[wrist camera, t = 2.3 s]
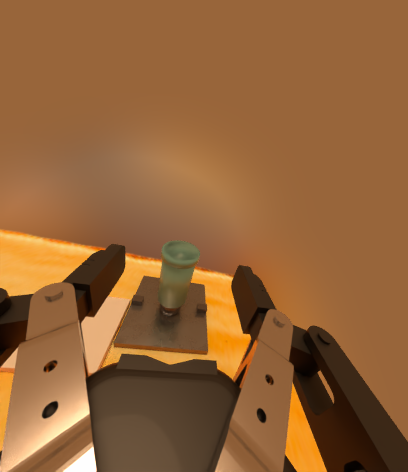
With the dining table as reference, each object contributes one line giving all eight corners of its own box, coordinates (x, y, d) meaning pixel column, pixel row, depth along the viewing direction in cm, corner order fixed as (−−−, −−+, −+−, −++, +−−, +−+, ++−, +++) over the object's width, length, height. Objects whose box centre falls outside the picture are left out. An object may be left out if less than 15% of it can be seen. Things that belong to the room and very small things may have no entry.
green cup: (151, 307, 25) (158, 258, 21) (159, 281, 30) (165, 237, 26) (187, 312, 26) (200, 265, 21) (188, 286, 31) (199, 244, 27)
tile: (-5, 371, 18) (-9, 366, 17) (66, 295, 28) (65, 291, 27) (96, 376, 19) (95, 373, 19) (130, 303, 29) (130, 299, 29)
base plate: (113, 346, 23) (113, 330, 21) (143, 279, 35) (144, 265, 33) (206, 354, 25) (212, 340, 23) (203, 287, 37) (207, 275, 35)
